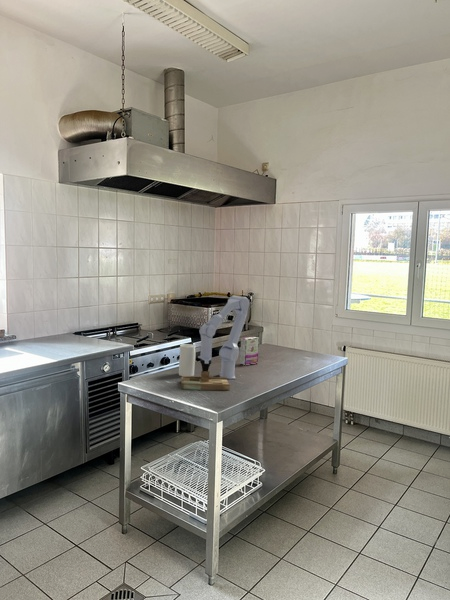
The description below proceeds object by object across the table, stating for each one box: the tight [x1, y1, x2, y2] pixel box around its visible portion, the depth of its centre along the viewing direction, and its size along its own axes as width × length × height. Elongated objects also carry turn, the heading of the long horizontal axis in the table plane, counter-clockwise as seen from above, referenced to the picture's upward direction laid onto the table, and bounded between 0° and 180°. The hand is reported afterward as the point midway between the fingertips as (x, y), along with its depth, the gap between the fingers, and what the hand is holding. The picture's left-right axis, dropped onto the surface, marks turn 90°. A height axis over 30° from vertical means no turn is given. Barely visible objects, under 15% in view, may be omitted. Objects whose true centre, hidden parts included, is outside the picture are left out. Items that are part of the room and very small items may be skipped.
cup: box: [178, 343, 196, 377], centre depth 238 cm, size 8×8×16 cm
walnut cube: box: [200, 370, 210, 381], centre depth 222 cm, size 4×4×4 cm
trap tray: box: [180, 376, 231, 391], centre depth 219 cm, size 13×23×3 cm, turn 97°
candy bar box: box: [239, 336, 260, 365], centre depth 270 cm, size 11×5×16 cm, turn 131°
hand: (204, 374), depth 228 cm, fingers closed
